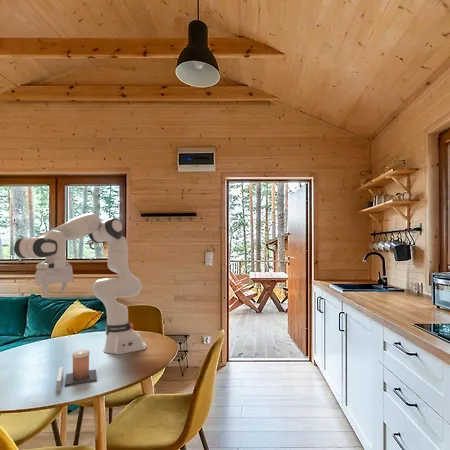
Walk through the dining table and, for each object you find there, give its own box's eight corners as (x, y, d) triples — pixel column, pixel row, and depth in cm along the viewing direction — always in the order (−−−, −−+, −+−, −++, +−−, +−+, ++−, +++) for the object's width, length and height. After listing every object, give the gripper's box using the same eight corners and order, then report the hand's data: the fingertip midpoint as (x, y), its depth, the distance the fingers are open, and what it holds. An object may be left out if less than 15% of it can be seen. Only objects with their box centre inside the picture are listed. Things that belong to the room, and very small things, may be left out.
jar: (89, 371, 144) (89, 348, 144) (89, 377, 138) (90, 353, 138) (72, 375, 141) (72, 351, 141) (72, 381, 135) (72, 356, 135)
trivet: (95, 371, 147) (95, 369, 147) (96, 381, 136) (96, 379, 136) (66, 375, 142) (66, 373, 142) (64, 386, 131) (64, 384, 132)
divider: (63, 376, 142) (63, 366, 142) (60, 391, 127) (60, 380, 128) (59, 376, 141) (59, 367, 142) (56, 391, 127) (56, 381, 127)
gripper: (66, 262, 170) (65, 289, 169) (32, 265, 150) (32, 295, 149) (76, 262, 168) (75, 290, 167) (43, 265, 148) (43, 296, 147)
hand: (55, 292), depth 158 cm, fingers open, 8 cm apart
